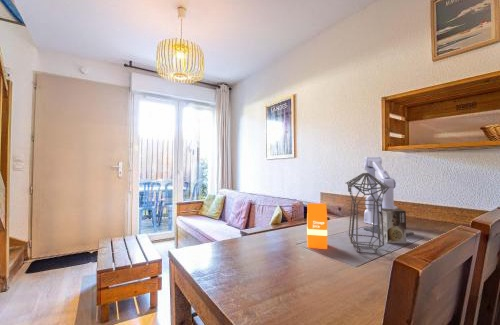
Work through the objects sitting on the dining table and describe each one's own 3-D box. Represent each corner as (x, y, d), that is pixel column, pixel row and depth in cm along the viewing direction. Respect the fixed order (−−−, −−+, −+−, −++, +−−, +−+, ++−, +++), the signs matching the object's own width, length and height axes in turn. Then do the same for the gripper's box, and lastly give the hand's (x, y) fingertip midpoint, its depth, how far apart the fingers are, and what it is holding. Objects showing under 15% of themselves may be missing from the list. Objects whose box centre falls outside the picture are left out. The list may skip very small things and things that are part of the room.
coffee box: (399, 239, 122) (399, 208, 122) (406, 244, 115) (406, 210, 115) (381, 239, 123) (380, 208, 123) (387, 243, 116) (386, 210, 116)
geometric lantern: (379, 246, 112) (380, 172, 112) (389, 259, 97) (391, 174, 96) (343, 242, 116) (345, 171, 116) (348, 255, 101) (349, 173, 101)
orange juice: (327, 249, 108) (327, 205, 108) (307, 247, 110) (307, 204, 110) (325, 243, 116) (325, 202, 116) (306, 242, 117) (306, 201, 118)
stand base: (363, 229, 141) (363, 221, 141) (383, 226, 149) (383, 218, 149) (393, 237, 125) (393, 228, 125) (413, 233, 133) (413, 225, 133)
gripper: (386, 201, 131) (386, 225, 130) (402, 199, 137) (402, 223, 137) (374, 199, 137) (374, 223, 137) (390, 198, 143) (390, 220, 143)
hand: (387, 223), depth 137 cm, fingers closed on column, 4 cm apart
